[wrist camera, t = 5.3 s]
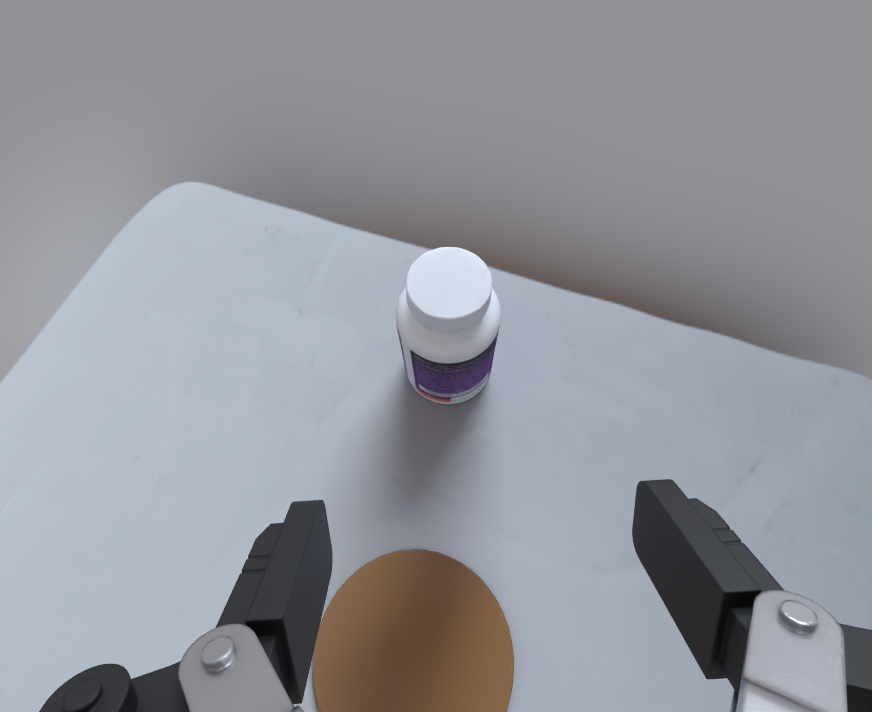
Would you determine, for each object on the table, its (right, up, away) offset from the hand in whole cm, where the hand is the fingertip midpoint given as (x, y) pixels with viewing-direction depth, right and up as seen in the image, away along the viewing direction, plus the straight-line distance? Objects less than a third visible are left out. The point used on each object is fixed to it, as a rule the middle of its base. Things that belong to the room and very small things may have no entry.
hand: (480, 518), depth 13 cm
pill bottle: (0, +3, +19) cm, 19 cm away
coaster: (-2, -11, +12) cm, 17 cm away
